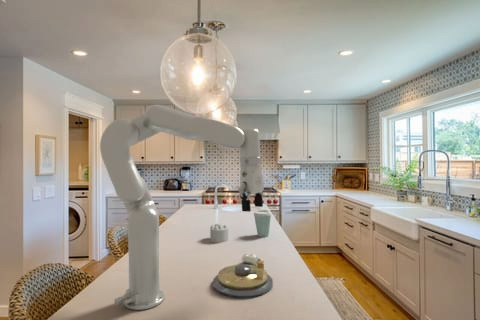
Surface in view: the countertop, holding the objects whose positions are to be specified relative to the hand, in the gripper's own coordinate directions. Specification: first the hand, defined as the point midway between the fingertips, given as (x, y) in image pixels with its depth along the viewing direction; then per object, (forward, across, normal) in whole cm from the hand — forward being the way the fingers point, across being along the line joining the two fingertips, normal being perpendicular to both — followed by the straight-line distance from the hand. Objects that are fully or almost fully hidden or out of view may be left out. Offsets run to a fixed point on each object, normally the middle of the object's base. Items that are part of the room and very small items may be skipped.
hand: (252, 208), depth 108 cm
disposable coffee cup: (+29, +64, +29) cm, 77 cm away
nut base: (+28, -2, +4) cm, 28 cm away
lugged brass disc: (+26, -2, +4) cm, 27 cm away
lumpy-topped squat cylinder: (+28, +44, +47) cm, 71 cm away
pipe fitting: (+29, +19, +12) cm, 37 cm away
